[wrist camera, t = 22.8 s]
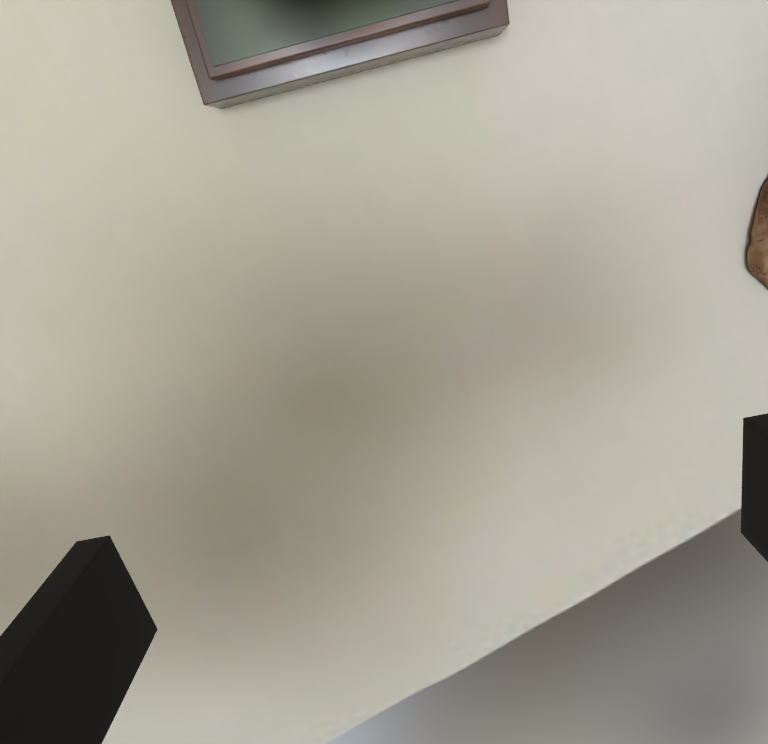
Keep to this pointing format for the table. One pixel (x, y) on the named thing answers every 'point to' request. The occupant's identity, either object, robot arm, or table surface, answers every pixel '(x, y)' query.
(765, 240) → the coin bank
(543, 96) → the table surface
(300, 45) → the holder
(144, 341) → the table surface
